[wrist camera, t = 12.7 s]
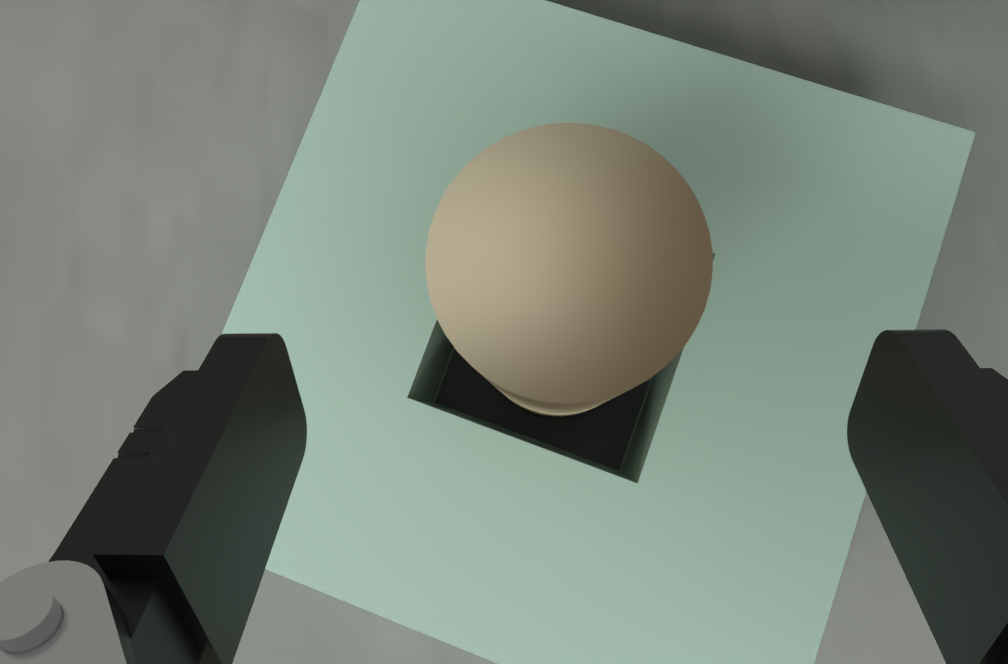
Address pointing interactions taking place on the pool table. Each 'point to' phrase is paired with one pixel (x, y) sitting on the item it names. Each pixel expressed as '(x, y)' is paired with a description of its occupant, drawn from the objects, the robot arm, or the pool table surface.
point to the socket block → (626, 418)
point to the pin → (568, 265)
